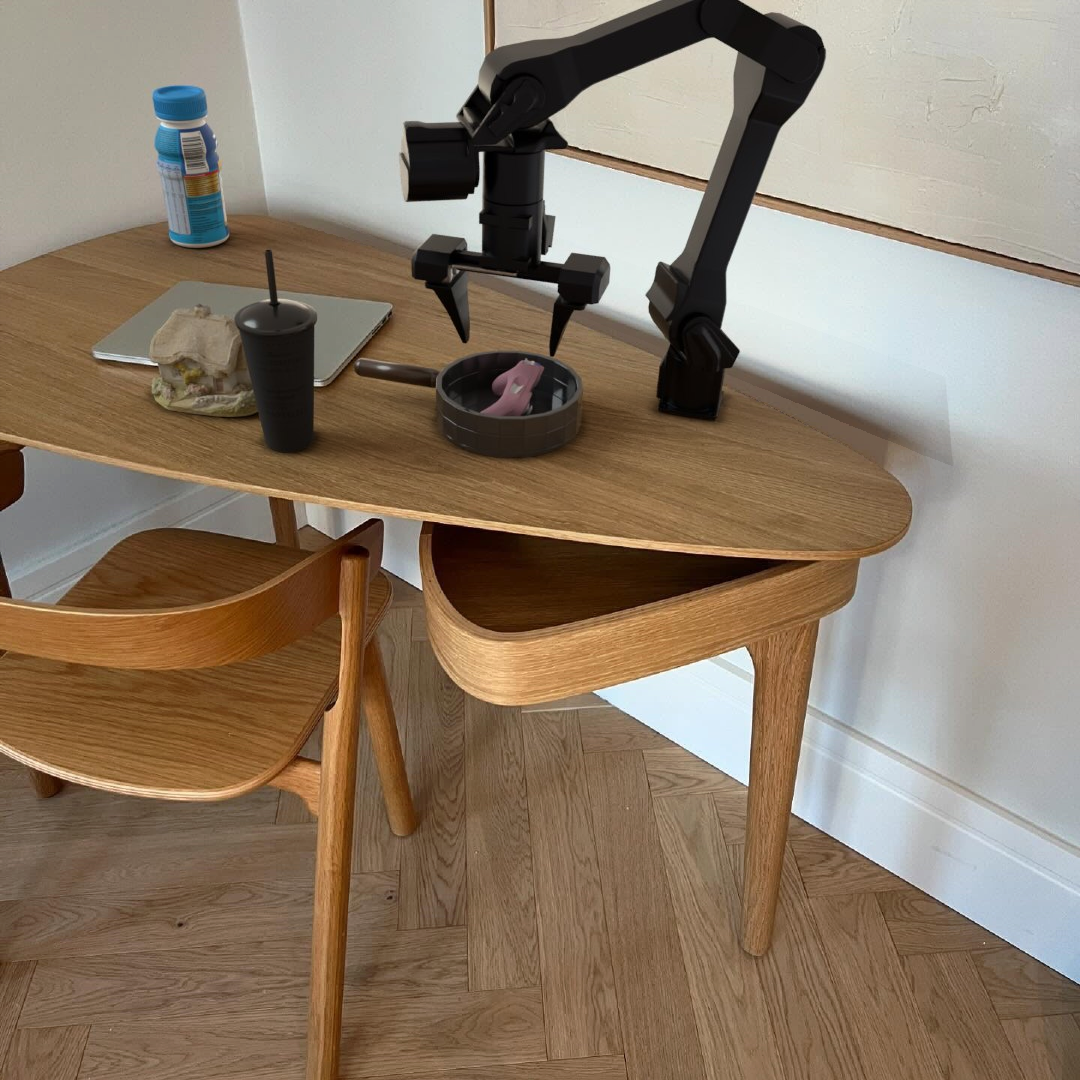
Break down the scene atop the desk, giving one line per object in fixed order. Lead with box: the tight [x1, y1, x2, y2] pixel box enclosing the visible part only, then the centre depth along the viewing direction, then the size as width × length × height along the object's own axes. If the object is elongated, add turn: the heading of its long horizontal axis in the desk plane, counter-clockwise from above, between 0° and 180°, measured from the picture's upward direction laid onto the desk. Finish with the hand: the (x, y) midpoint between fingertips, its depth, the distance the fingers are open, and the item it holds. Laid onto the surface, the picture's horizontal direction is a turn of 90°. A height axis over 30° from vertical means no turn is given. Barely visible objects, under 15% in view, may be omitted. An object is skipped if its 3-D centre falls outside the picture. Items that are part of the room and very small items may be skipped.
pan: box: [435, 349, 584, 459], centre depth 115 cm, size 15×15×4 cm
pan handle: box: [353, 357, 441, 389], centre depth 116 cm, size 10×2×2 cm, turn 75°
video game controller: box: [480, 358, 544, 416], centre depth 114 cm, size 10×5×7 cm, turn 168°
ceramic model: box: [148, 303, 258, 418], centre depth 116 cm, size 14×11×10 cm
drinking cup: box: [233, 249, 318, 453], centre depth 105 cm, size 8×8×20 cm
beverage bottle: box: [151, 84, 230, 249], centre depth 149 cm, size 8×8×20 cm
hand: (509, 348), depth 111 cm, fingers open, 9 cm apart
